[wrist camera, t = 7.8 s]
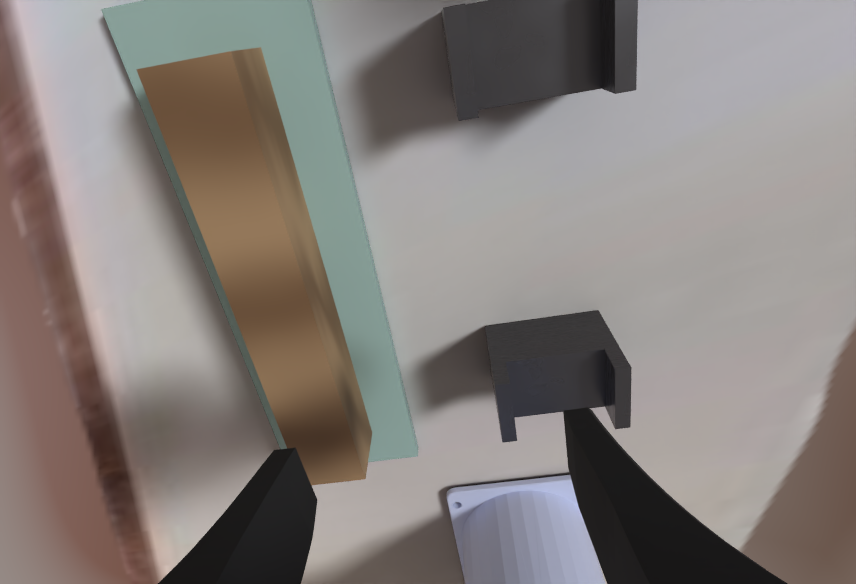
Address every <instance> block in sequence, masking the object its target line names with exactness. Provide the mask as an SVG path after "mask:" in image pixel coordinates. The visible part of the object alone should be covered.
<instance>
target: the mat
mask: <svg viewBox="0 0 856 584" xmlns="http://www.w3.org/2000/svg"><path fill="white" fill-rule="evenodd" d="M101 10H102V13H103V15H104V18H105V20H106V22H107V25H108V27H109V30H110V32H111V35H112V37H113V40H114V42H115V45H116V47H117V49H118V52H119V54H120V57H121V59H122V62H123V64H124V67H125V69H126V72H127V74H128V76H129V79H130V81H131V84H132V86H133V89H134V91H135V94H136V96H137V99H138V101H139V103H140V106H141V108H142V111H143V113H144V116H145V118H146V121H147V123H148V125H149V128H150V130H151V133H152V135H153V138H154V140H155V143H156V145H157V148H158V150H159V152H160V155H161V157H162V160H163V162H164V165H165V167H166V170H167V172H168V175H169V177H170V179H171V182H172V184H173V187H174V189H175V192H176V194H177V197H178V199H179V202H180V204H181V206H182V209H183V211H184V214H185V216H186V219H187V221H188V224H189V226H190V229H191V231H192V233H193V236H194V238H195V241H196V243H197V246H198V248H199V251H200V253H201V255H202V258H203V260H204V263H205V265H206V268H207V270H208V273H209V275H210V278H211V280H212V282H213V285H214V287H215V290H216V292H217V295H218V297H219V300H220V302H221V305H222V307H223V309H224V312H225V314H226V317H227V319H228V322H229V324H230V327H231V329H232V332H233V334H234V336H235V339H236V341H237V344H238V346H239V349H240V351H241V354H242V356H243V358H244V361H245V363H246V366H247V368H248V371H249V373H250V376H251V378H252V381H253V383H254V385H255V388H256V390H257V393H258V395H259V398H260V400H261V403H262V405H263V408H264V410H265V412H266V415H267V417H268V420H269V422H270V425H271V427H272V430H273V432H274V435H275V437H276V439H277V442H278V444H279V447H280V449H287V447H286V444H285V442H284V439H283V437H282V434H281V432H280V429H279V427H278V424H277V422H276V419H275V417H274V414H273V412H272V409H271V407H270V404H269V402H268V399H267V397H266V394H265V392H264V389H263V387H262V384H261V381H260V379H259V376H258V374H257V371H256V369H255V366H254V364H253V361H252V359H251V356H250V354H249V351H248V349H247V346H246V344H245V341H244V339H243V336H242V334H241V331H240V329H239V326H238V324H237V321H236V319H235V316H234V314H233V311H232V309H231V306H230V304H229V301H228V299H227V296H226V294H225V291H224V289H223V286H222V284H221V281H220V279H219V276H218V274H217V271H216V269H215V266H214V264H213V261H212V258H211V256H210V253H209V251H208V248H207V246H206V243H205V241H204V238H203V236H202V233H201V231H200V228H199V226H198V223H197V221H196V218H195V216H194V213H193V211H192V208H191V206H190V203H189V201H188V198H187V196H186V193H185V191H184V188H183V186H182V183H181V181H180V178H179V176H178V173H177V171H176V168H175V166H174V163H173V161H172V158H171V156H170V153H169V151H168V148H167V146H166V143H165V141H164V138H163V136H162V133H161V130H160V128H159V125H158V123H157V120H156V118H155V115H154V113H153V110H152V108H151V105H150V103H149V100H148V98H147V95H146V93H145V90H144V88H143V85H142V83H141V80H140V78H139V75H138V73H137V70H136V69H141V68H146V67H151V66H156V65H162V64H167V63H172V62H177V61H182V60H187V59H193V58H198V57H203V56H208V55H213V54H218V53H224V52H229V51H236V50H243V49H251V48H259V47H261V49H262V53H263V56H264V60H265V63H266V67H267V70H268V74H269V77H270V81H271V84H272V87H273V91H274V94H275V98H276V101H277V105H278V108H279V112H280V115H281V119H282V122H283V125H284V129H285V132H286V136H287V139H288V143H289V146H290V150H291V153H292V157H293V160H294V163H295V167H296V170H297V174H298V177H299V181H300V184H301V188H302V191H303V195H304V198H305V201H306V205H307V208H308V212H309V215H310V219H311V222H312V226H313V229H314V233H315V236H316V239H317V243H318V246H319V250H320V253H321V257H322V260H323V264H324V267H325V271H326V274H327V278H328V281H329V284H330V288H331V291H332V295H333V298H334V302H335V305H336V309H337V312H338V316H339V319H340V322H341V326H342V329H343V333H344V336H345V340H346V343H347V347H348V350H349V354H350V357H351V360H352V364H353V367H354V371H355V374H356V378H357V381H358V385H359V388H360V392H361V395H362V398H363V402H364V405H365V409H366V412H367V416H368V419H369V423H370V426H371V430H372V439H371V445H370V452H369V458H368V462H373V461H382V460H390V459H399V458H407V457H416V456H418V445H417V441H416V436H415V432H414V428H413V424H412V420H411V416H410V411H409V407H408V403H407V399H406V395H405V391H404V386H403V382H402V378H401V374H400V370H399V366H398V361H397V357H396V353H395V349H394V345H393V341H392V336H391V332H390V328H389V324H388V320H387V316H386V311H385V307H384V303H383V299H382V295H381V291H380V286H379V282H378V278H377V274H376V270H375V266H374V261H373V257H372V253H371V249H370V245H369V241H368V236H367V232H366V228H365V224H364V220H363V216H362V211H361V207H360V203H359V199H358V195H357V190H356V186H355V182H354V178H353V174H352V170H351V165H350V161H349V157H348V153H347V149H346V145H345V140H344V136H343V132H342V128H341V124H340V120H339V115H338V111H337V107H336V103H335V99H334V95H333V90H332V86H331V82H330V78H329V74H328V70H327V65H326V61H325V57H324V53H323V49H322V45H321V40H320V36H319V32H318V28H317V24H316V20H315V15H314V11H313V7H312V3H311V0H144V1H139V2H134V3H129V4H124V5H119V6H114V7H110V8H105V9H101Z"/></svg>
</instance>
